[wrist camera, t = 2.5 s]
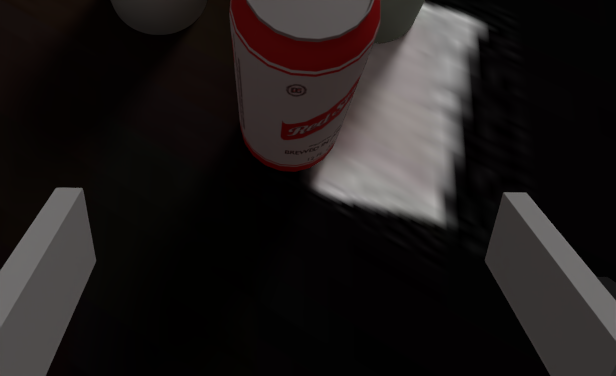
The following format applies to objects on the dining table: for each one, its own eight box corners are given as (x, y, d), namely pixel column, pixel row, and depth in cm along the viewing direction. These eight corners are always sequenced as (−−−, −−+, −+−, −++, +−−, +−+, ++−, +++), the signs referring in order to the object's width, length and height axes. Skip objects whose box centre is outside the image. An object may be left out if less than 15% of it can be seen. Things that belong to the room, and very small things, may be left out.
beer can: (355, 134, 36) (426, -13, 20) (285, 195, 34) (305, 87, 19) (291, 69, 36) (314, -120, 21) (221, 126, 35) (189, -33, 19)
